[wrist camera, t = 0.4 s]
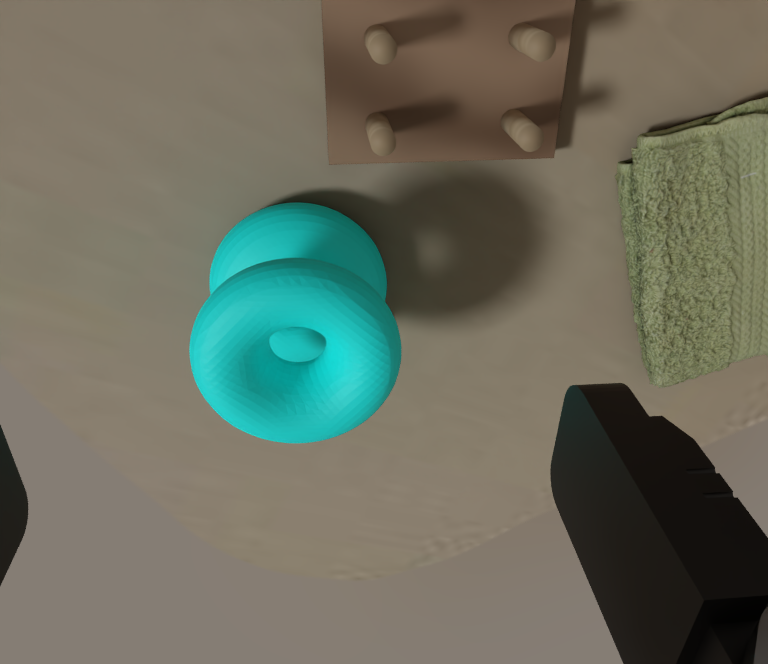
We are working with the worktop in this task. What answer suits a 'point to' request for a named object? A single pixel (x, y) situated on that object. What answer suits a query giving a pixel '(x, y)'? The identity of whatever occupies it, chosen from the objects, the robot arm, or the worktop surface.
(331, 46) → the drying rack
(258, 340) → the donuts
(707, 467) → the robot arm
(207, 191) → the worktop surface
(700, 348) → the washcloth
